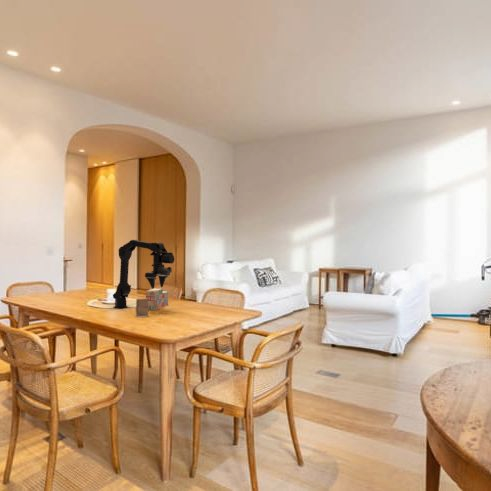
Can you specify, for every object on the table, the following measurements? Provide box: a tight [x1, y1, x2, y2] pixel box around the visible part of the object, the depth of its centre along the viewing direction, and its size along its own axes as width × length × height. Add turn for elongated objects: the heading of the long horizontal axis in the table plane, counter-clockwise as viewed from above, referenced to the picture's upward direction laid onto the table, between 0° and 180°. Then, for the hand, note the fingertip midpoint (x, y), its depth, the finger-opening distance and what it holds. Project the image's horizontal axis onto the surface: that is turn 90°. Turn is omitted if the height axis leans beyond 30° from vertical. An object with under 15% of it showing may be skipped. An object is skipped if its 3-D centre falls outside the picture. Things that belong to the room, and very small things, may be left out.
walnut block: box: [135, 297, 149, 318], centre depth 227 cm, size 5×5×10 cm
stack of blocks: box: [145, 287, 169, 311], centre depth 256 cm, size 21×6×12 cm, turn 169°
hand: (157, 287), depth 242 cm, fingers open, 9 cm apart
